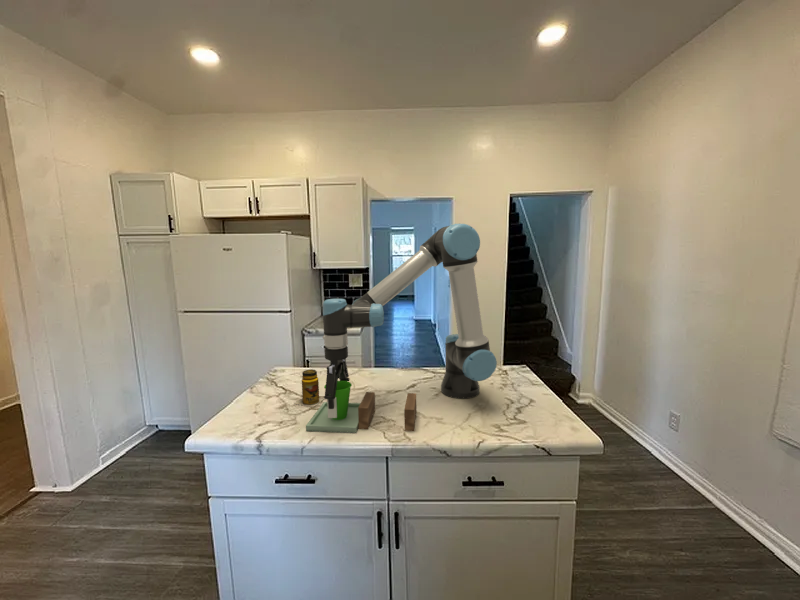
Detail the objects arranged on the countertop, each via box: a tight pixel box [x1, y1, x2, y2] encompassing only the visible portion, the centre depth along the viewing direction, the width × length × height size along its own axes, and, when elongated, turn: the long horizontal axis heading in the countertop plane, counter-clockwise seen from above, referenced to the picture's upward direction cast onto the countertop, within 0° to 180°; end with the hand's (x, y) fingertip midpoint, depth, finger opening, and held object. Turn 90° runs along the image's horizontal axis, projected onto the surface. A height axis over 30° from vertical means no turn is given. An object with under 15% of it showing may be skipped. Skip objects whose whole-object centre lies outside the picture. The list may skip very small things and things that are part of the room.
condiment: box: [294, 368, 324, 408], centre depth 132 cm, size 7×8×12 cm
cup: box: [323, 380, 352, 420], centre depth 118 cm, size 9×9×11 cm
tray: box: [305, 401, 361, 434], centre depth 119 cm, size 16×18×2 cm
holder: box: [358, 391, 418, 432], centre depth 117 cm, size 18×13×7 cm
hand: (338, 408), depth 118 cm, fingers open, 13 cm apart
